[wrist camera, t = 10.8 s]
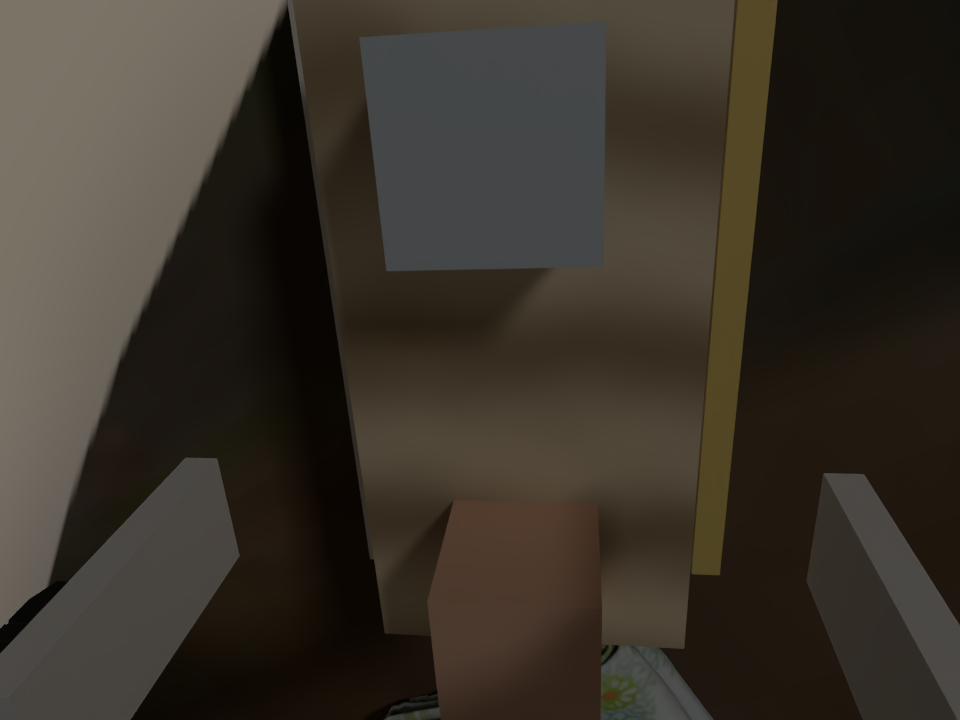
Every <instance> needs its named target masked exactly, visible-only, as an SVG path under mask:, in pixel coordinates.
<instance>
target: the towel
mask: <svg viewBox="0 0 960 720" xmlns="http://www.w3.org/2000/svg"><path fill="white" fill-rule="evenodd" d="M384 720H441V719H440V710H439V701H438V693H437V694H435V695H432V696H429V695H425V696H418V697H415V698H412V699H410V700H409V702H403V703H401V704H399V705H395V706H392V707H391V708H390V710H389V712H388V714H387V715H386V716H385V719H384ZM600 720H714V719H713V718H712V717H711V716H710V714H709V713H708V712H707V711H706V709H705V708H704V707H703V705H702V704H701V703H700V701H699V700H698V698H697V697H696V696H695V694H694V693H693V692H692V690H691V689H690V687H689V686H688V685H687V684H686V683H685V681H684V680H683V679H682V677H681V676H680V674H679V673H678V672H677V671H676V669H675V667H674V666H673V664H672V663H671V662H670V660H669V659H668V657H667V656H666V655H665V654H664V653H663V652H662V651H661V649H660V648H659V647H642V646H622V645H602V653H601V718H600Z"/></svg>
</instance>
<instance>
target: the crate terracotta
mask: <svg viewBox="0 0 960 720" xmlns="http://www.w3.org/2000/svg"><path fill="white" fill-rule="evenodd" d="M427 604H428V613H429V622H430V631H431V639H432V648H433V657H434V666H435V675H436V684H437V693H438V701H439V710H440V719H441V720H600V718H601V653H602V594H601V570H600V546H599V522H598V504H593V503H552V502H511V501H470V500H454V501H453V505H452V509H451V513H450V517H449V520H448V524H447V528H446V532H445V536H444V540H443V543H442V547H441V551H440V555H439V559H438V562H437V566H436V570H435V574H434V578H433V582H432V585H431V589H430V593H429V597H428V601H427Z"/></svg>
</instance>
